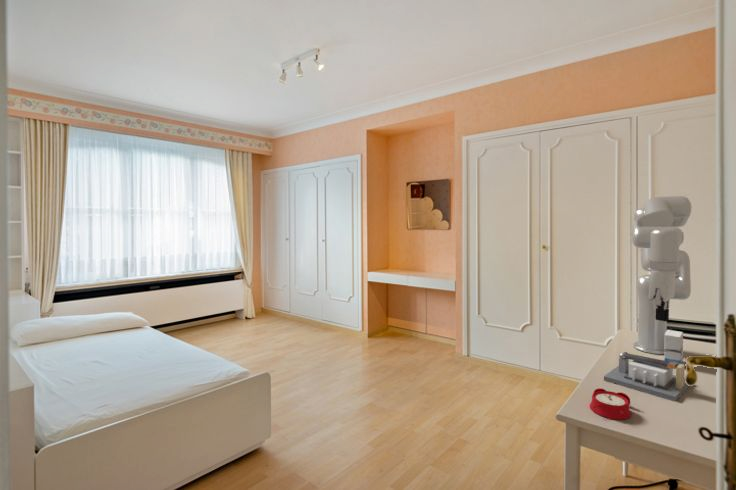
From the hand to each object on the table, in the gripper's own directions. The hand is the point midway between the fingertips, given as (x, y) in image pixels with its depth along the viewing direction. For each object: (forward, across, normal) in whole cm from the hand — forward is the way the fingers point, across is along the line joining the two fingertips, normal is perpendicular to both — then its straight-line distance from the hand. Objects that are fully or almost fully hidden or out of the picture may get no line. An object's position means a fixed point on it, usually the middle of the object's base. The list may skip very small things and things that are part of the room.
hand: (662, 320), depth 127 cm
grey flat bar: (+15, +2, -3) cm, 15 cm away
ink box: (+23, -24, -2) cm, 33 cm away
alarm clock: (+22, +30, -4) cm, 38 cm away
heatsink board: (+22, +2, -3) cm, 22 cm away
